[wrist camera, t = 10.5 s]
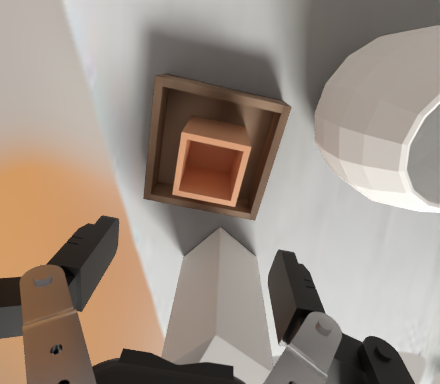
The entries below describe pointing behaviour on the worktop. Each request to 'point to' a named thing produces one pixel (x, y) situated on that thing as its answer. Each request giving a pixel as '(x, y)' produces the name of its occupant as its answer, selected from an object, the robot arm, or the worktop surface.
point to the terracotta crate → (211, 161)
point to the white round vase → (386, 120)
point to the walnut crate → (220, 111)
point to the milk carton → (220, 311)
